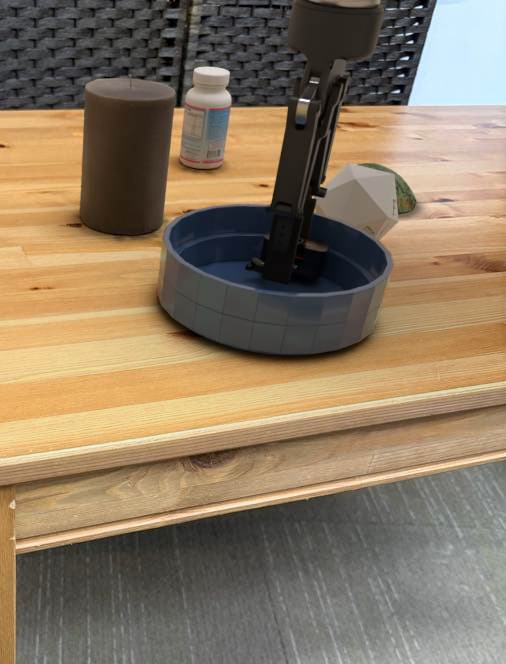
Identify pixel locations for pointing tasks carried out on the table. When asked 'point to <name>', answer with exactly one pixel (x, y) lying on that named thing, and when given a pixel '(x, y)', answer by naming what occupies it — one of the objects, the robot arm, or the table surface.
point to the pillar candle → (125, 154)
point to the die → (361, 199)
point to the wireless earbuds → (299, 258)
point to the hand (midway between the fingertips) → (282, 270)
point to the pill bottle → (206, 119)
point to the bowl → (269, 283)
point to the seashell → (397, 188)
